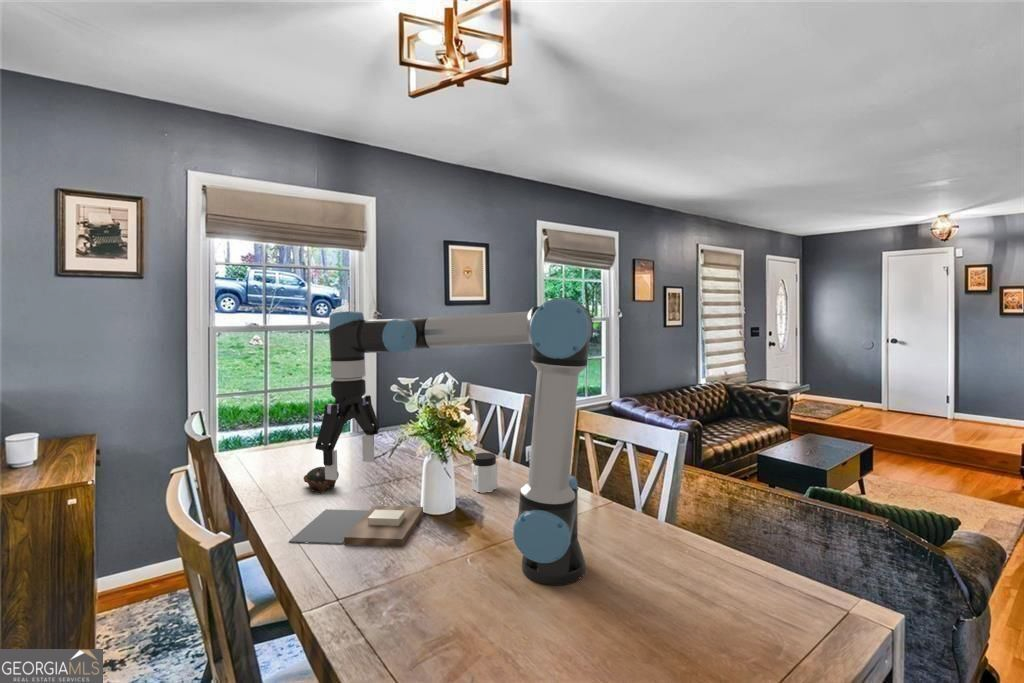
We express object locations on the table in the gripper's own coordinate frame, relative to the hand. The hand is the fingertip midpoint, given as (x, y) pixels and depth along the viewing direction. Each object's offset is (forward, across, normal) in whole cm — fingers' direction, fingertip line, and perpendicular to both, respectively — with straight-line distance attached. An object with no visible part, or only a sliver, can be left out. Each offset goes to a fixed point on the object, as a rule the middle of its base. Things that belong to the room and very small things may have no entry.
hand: (351, 470), depth 115 cm
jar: (+26, -64, +7) cm, 69 cm away
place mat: (+26, -22, -24) cm, 41 cm away
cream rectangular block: (+24, -26, -8) cm, 36 cm away
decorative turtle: (+26, -47, -48) cm, 72 cm away
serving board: (+26, -26, -8) cm, 38 cm away
